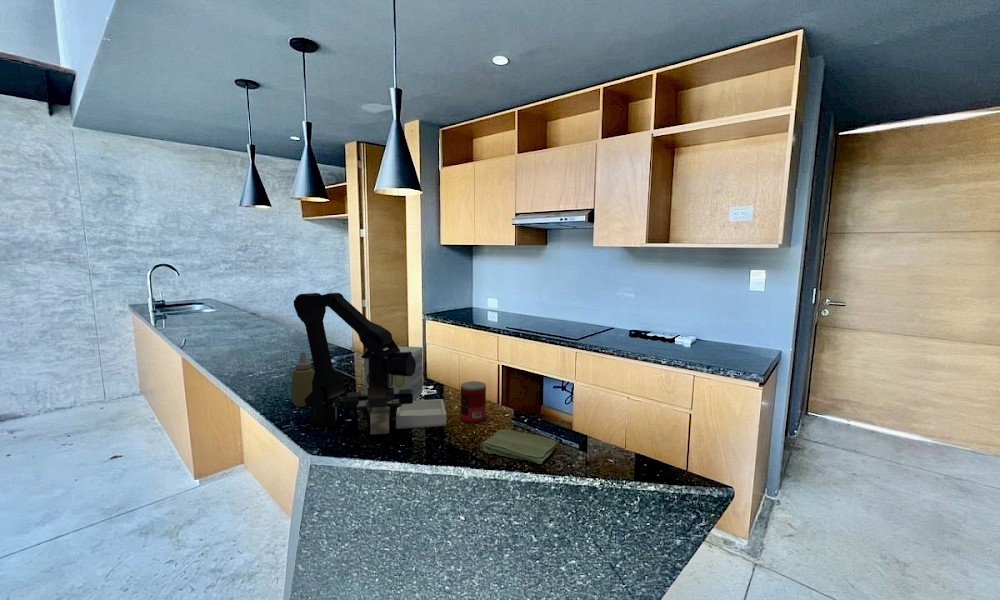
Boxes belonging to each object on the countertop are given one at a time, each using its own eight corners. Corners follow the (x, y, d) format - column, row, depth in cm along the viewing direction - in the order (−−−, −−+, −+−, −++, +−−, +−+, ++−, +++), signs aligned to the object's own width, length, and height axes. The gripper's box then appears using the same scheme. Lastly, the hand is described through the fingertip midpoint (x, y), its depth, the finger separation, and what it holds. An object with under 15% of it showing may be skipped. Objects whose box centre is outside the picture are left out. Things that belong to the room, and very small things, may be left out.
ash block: (370, 434, 115) (370, 413, 115) (372, 427, 120) (371, 407, 120) (388, 433, 116) (388, 412, 116) (389, 426, 121) (389, 406, 121)
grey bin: (396, 428, 120) (396, 417, 119) (398, 411, 134) (397, 401, 134) (446, 425, 123) (446, 414, 122) (442, 409, 137) (442, 399, 137)
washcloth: (542, 469, 97) (543, 456, 97) (477, 454, 105) (477, 442, 105) (559, 448, 109) (559, 436, 109) (499, 436, 117) (499, 425, 117)
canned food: (489, 416, 131) (489, 382, 130) (477, 425, 123) (478, 389, 123) (468, 413, 134) (468, 380, 133) (455, 421, 127) (456, 386, 126)
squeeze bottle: (285, 406, 138) (283, 353, 136) (304, 399, 145) (303, 349, 144) (303, 409, 135) (301, 355, 133) (322, 402, 142) (321, 351, 141)
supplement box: (363, 403, 142) (363, 351, 141) (379, 392, 156) (379, 344, 154) (411, 405, 140) (411, 353, 139) (423, 394, 154) (423, 346, 152)
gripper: (339, 383, 107) (341, 441, 108) (412, 379, 111) (413, 435, 112) (346, 372, 118) (347, 425, 119) (412, 369, 122) (413, 421, 123)
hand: (380, 427), depth 118 cm, fingers closed on ash block, 5 cm apart
